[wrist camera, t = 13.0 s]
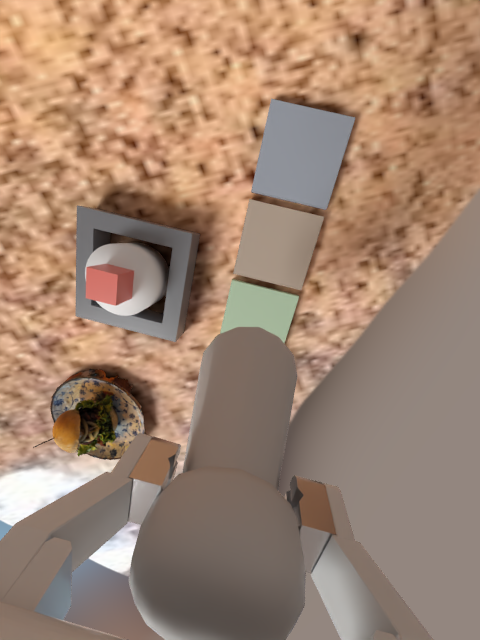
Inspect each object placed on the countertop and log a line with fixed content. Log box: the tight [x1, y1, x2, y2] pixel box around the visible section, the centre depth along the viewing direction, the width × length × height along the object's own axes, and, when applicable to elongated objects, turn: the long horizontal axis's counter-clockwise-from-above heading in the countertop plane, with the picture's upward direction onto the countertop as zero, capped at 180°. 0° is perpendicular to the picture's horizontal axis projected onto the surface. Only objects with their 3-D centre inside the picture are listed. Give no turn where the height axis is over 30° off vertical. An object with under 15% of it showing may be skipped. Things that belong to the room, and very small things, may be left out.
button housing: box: [76, 206, 200, 342], centre depth 24 cm, size 10×10×2 cm
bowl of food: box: [33, 369, 145, 460], centre depth 28 cm, size 12×12×8 cm
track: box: [220, 99, 355, 343], centre depth 23 cm, size 20×6×1 cm, turn 167°
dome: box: [85, 243, 169, 316], centre depth 22 cm, size 6×6×6 cm
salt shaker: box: [129, 327, 306, 640], centre depth 12 cm, size 6×6×13 cm
